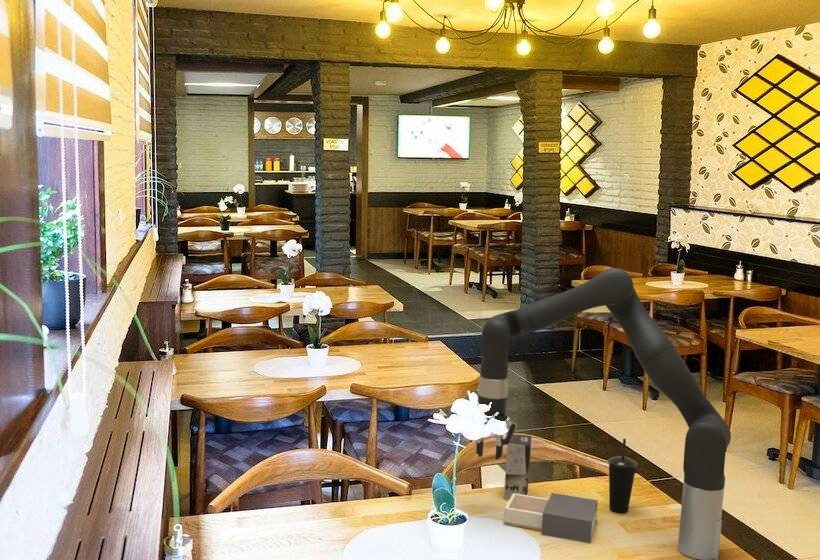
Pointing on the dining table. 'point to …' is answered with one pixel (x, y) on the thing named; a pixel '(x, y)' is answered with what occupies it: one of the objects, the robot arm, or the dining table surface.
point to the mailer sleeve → (569, 517)
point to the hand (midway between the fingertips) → (488, 456)
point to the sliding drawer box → (528, 511)
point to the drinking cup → (621, 481)
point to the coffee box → (517, 465)
